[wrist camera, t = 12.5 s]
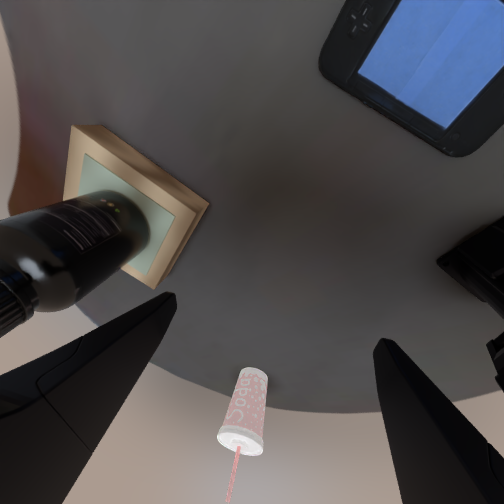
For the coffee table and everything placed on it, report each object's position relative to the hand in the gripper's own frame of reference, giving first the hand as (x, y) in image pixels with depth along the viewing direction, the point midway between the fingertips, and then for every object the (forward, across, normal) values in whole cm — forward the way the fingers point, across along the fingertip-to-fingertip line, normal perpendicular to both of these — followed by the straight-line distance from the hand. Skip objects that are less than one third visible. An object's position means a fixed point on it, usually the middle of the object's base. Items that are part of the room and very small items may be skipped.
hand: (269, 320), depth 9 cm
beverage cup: (+13, +1, +28) cm, 31 cm away
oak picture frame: (+13, +16, +2) cm, 21 cm away
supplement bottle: (+10, +16, +2) cm, 19 cm away
